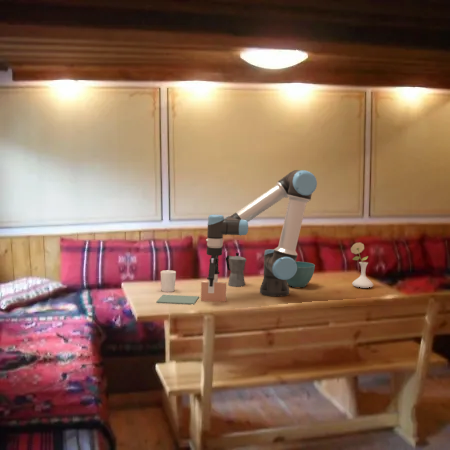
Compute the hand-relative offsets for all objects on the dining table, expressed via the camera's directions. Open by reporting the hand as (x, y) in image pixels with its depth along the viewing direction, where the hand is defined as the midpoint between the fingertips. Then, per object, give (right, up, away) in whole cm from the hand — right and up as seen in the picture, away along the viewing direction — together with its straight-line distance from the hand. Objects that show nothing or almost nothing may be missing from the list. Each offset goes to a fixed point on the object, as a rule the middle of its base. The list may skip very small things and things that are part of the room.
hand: (212, 290), depth 291 cm
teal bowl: (+46, -2, +39) cm, 60 cm away
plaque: (0, -5, +1) cm, 5 cm away
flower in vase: (+81, -3, +40) cm, 90 cm away
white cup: (-24, -3, +20) cm, 31 cm away
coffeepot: (+11, -2, +38) cm, 40 cm away
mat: (-17, -5, -1) cm, 18 cm away
